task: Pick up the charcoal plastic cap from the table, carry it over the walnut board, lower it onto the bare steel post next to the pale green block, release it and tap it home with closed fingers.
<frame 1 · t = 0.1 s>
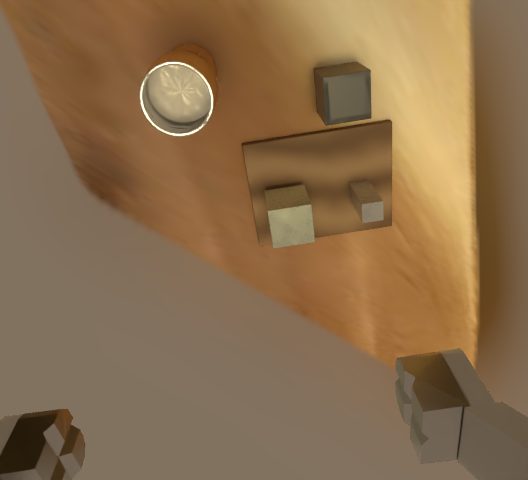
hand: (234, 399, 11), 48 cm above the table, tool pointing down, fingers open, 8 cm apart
charcoal cap: (336, 87, 54), on the table
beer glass: (191, 71, 52), on the table
steel post: (358, 189, 60), resting on walnut board
walnut board: (320, 185, 60), on the table
pale green block: (285, 200, 60), resting on walnut board
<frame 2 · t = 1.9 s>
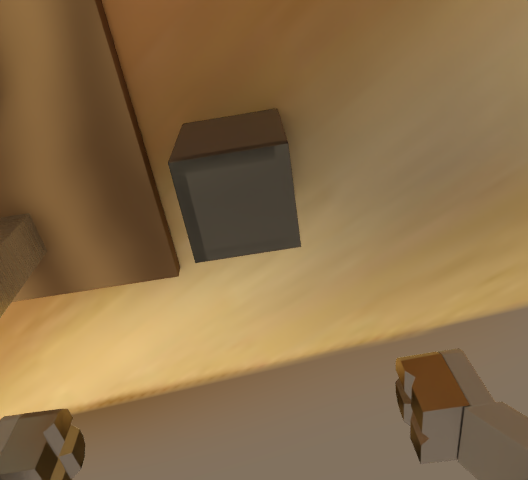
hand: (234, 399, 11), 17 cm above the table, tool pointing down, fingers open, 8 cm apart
charcoal cap: (238, 161, 25), on the table
steel post: (16, 236, 26), resting on walnut board
walnut board: (3, 145, 24), on the table
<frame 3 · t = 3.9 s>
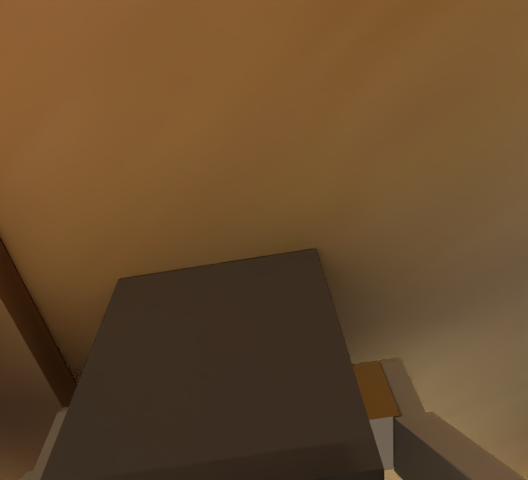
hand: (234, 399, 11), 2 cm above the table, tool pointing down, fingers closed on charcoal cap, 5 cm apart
charcoal cap: (234, 338, 13), on the table, touching gripper
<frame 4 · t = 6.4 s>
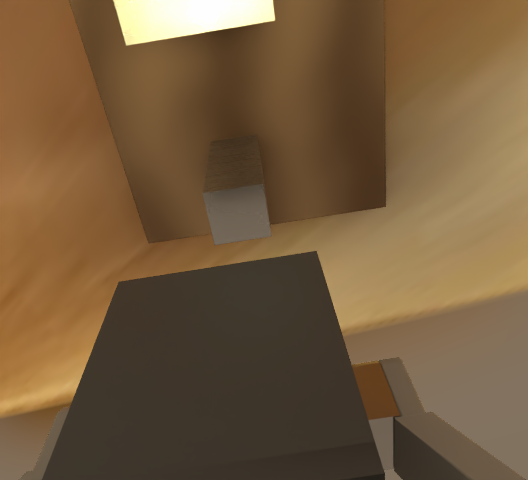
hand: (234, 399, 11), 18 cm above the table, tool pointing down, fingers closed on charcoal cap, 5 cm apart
charcoal cap: (235, 340, 13), point 16 cm above the table, touching gripper
steel post: (237, 159, 25), resting on walnut board
walnut board: (239, 62, 24), on the table
when the fingers open (6 cm above the table, at t = 8.9 s): charcoal cap stays where it is, resting on steel post.
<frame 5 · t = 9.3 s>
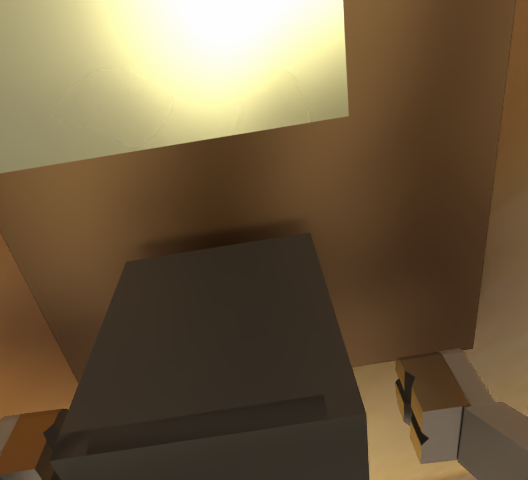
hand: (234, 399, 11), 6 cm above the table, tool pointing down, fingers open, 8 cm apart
charcoal cap: (234, 318, 14), point 2 cm above the table, touching steel post
walnut board: (236, 131, 13), on the table
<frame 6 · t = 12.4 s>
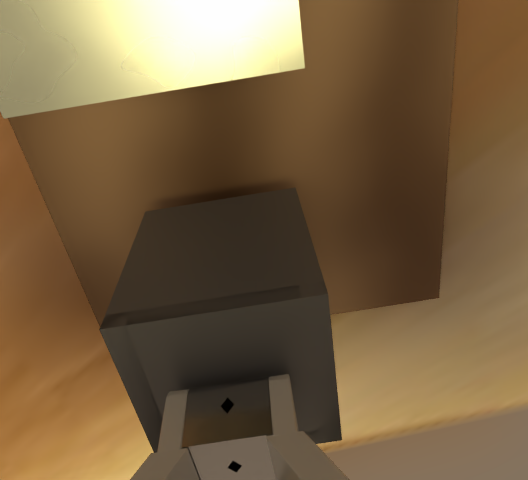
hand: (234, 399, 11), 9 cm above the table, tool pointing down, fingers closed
charcoal cap: (233, 262, 16), point 2 cm above the table, touching steel post
walnut board: (235, 106, 16), on the table
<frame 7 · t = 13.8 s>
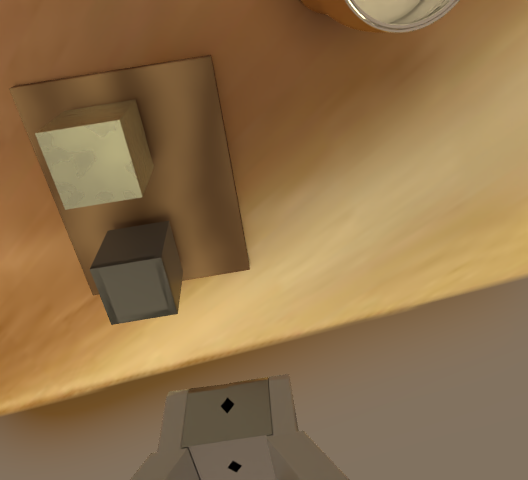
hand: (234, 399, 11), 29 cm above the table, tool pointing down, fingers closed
charcoal cap: (146, 251, 38), point 2 cm above the table, touching steel post
walnut board: (146, 186, 38), on the table
pale green block: (115, 134, 35), resting on walnut board
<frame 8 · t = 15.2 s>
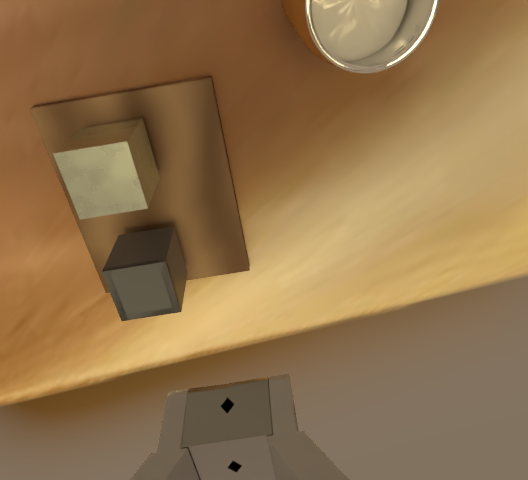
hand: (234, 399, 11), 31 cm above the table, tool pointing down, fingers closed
charcoal cap: (154, 254, 42), point 2 cm above the table, touching steel post
walnut board: (153, 194, 42), on the table
pale green block: (124, 148, 38), resting on walnut board
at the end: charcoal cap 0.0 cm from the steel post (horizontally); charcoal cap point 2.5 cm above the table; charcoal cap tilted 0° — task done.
